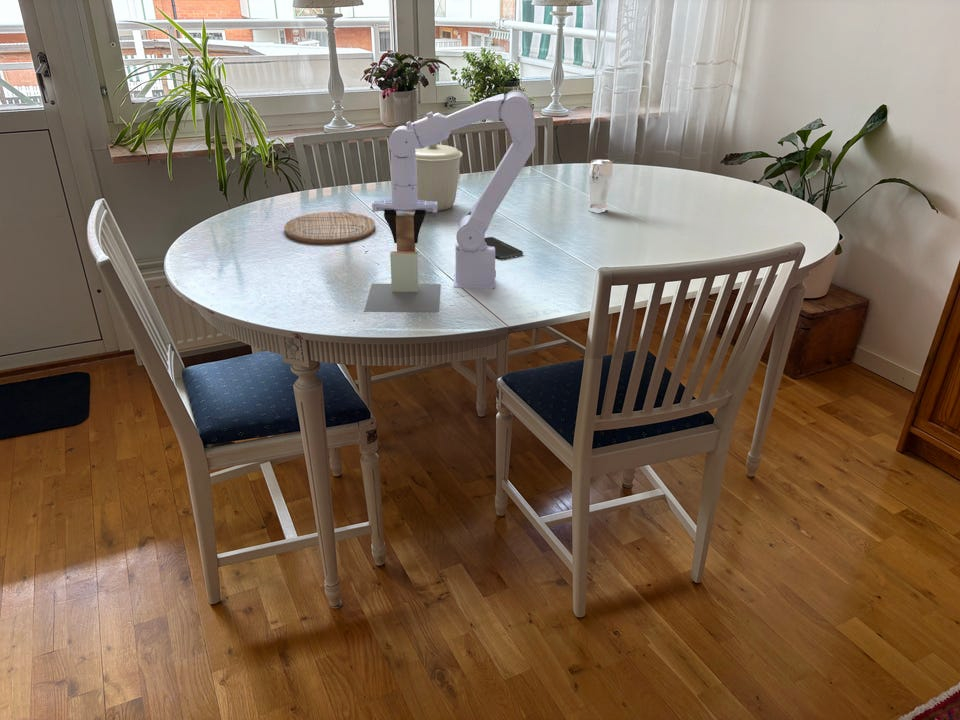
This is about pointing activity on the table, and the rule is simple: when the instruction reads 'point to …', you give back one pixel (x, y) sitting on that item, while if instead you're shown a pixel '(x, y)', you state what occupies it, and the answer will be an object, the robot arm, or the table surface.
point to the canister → (438, 174)
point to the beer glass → (599, 182)
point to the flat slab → (404, 271)
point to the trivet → (329, 228)
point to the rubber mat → (403, 299)
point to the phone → (502, 248)
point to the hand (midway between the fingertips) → (406, 241)
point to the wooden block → (405, 231)
